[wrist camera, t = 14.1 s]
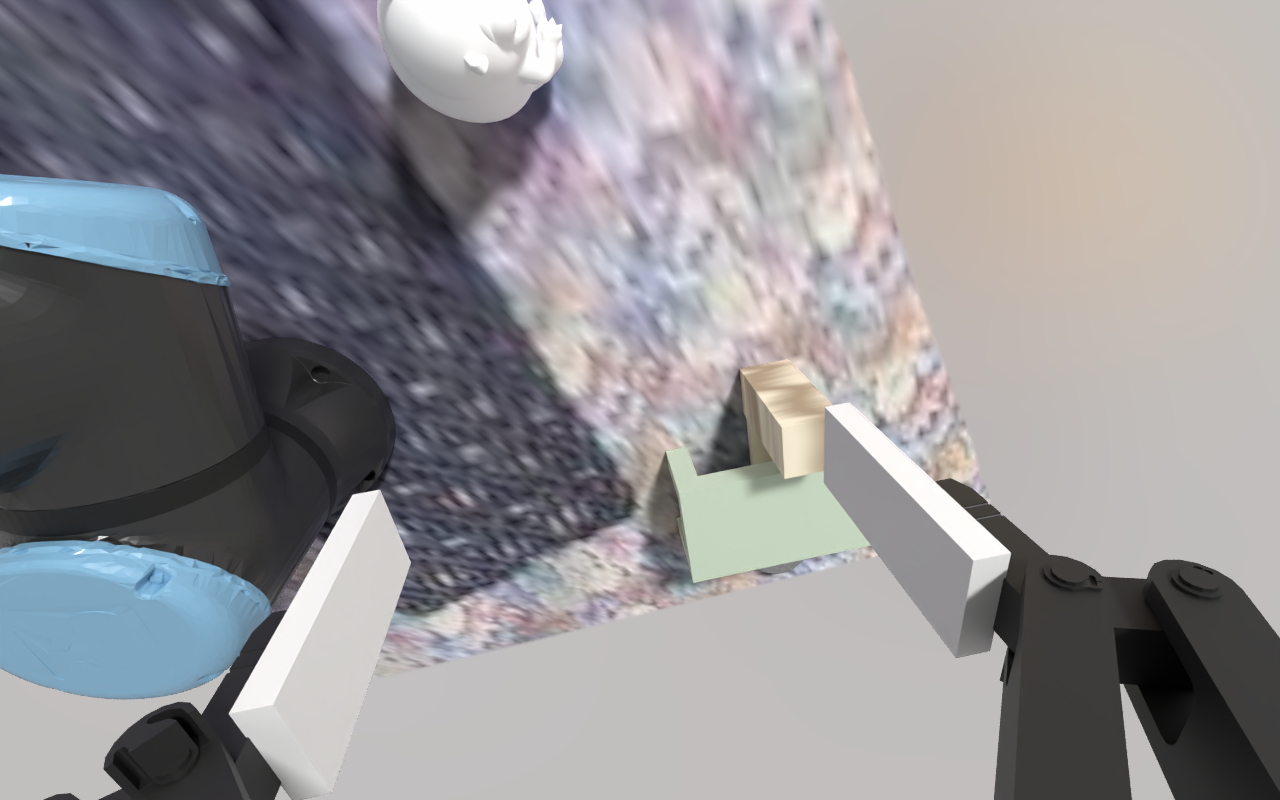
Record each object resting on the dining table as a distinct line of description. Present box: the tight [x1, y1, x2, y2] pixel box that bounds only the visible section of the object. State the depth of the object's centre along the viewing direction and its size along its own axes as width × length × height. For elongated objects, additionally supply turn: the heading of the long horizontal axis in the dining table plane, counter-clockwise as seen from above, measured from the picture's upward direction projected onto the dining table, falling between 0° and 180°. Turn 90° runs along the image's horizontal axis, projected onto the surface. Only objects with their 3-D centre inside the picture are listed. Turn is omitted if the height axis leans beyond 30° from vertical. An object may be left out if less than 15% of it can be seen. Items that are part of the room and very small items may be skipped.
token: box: [759, 560, 803, 574], centre depth 59 cm, size 6×6×2 cm
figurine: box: [377, 0, 563, 123], centre depth 32 cm, size 10×10×12 cm
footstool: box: [666, 447, 870, 583], centre depth 52 cm, size 18×10×7 cm, turn 99°
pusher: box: [739, 359, 833, 479], centre depth 49 cm, size 4×18×11 cm, turn 9°
